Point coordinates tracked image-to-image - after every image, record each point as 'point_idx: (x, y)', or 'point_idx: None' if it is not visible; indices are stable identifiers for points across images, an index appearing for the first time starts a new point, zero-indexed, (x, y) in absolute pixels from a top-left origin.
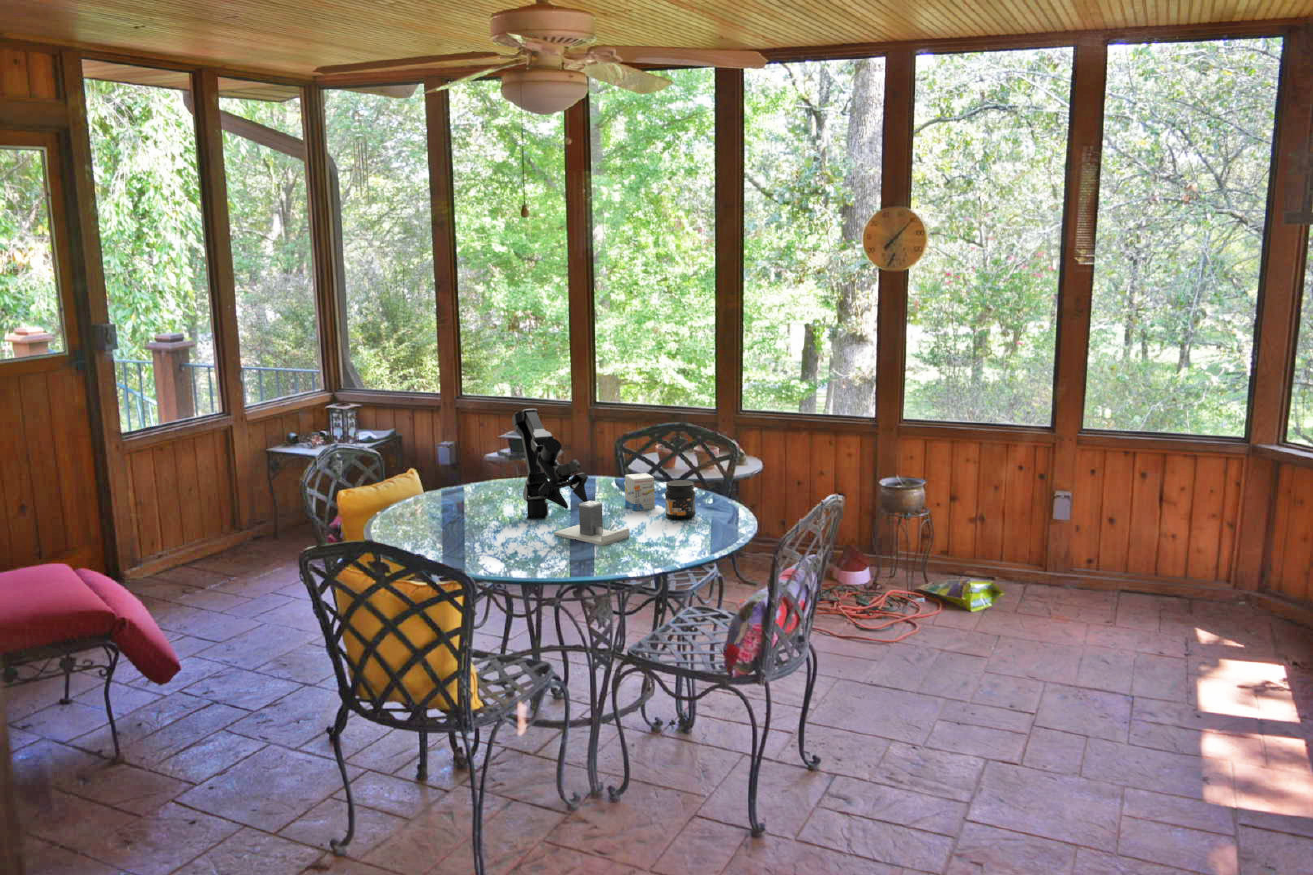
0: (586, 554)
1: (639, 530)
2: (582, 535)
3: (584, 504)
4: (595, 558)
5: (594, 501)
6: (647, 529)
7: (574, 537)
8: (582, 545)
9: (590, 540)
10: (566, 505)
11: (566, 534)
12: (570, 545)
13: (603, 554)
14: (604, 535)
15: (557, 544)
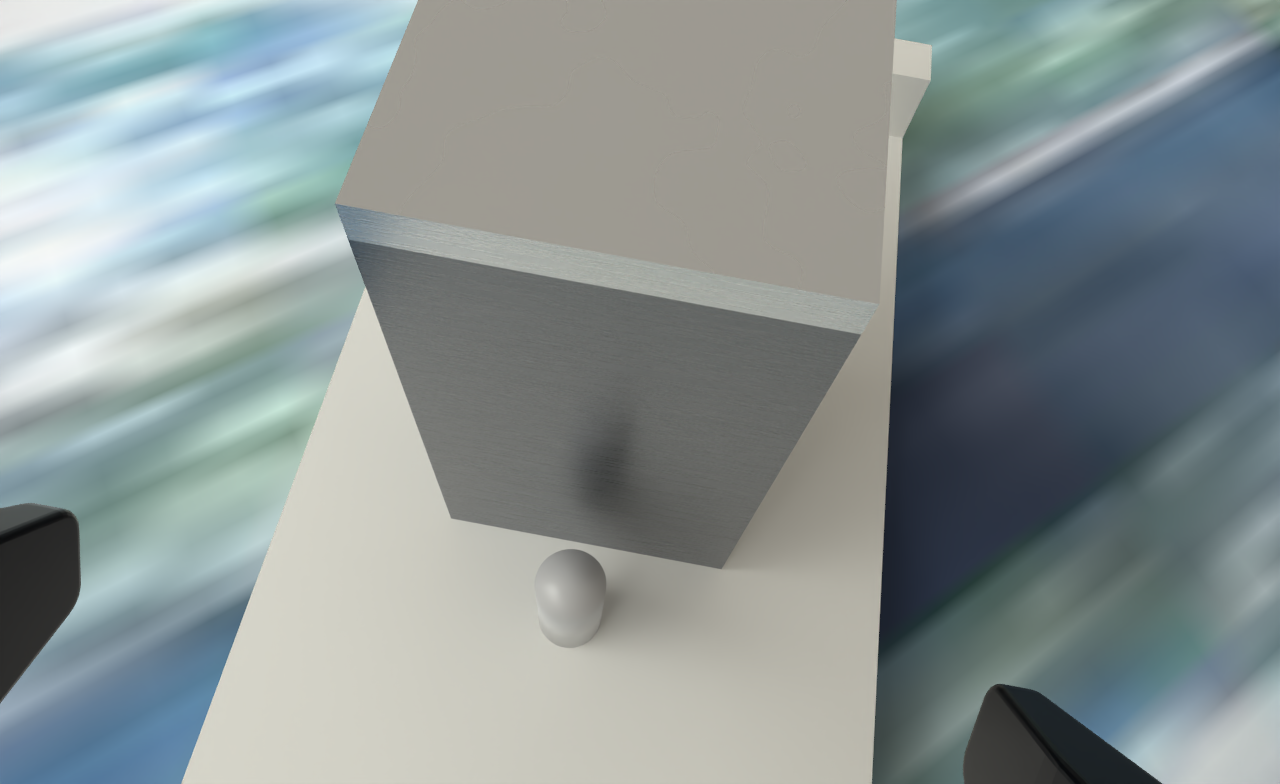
0: (1250, 144)
1: (123, 73)
2: (777, 485)
3: (862, 137)
4: (1276, 29)
5: (423, 66)
6: (54, 21)
7: (875, 574)
8: (1028, 336)
9: (891, 291)
10: (1079, 723)
11: (862, 763)
12: (1126, 467)
13: (1134, 22)
14: (895, 56)
15: (1214, 662)
